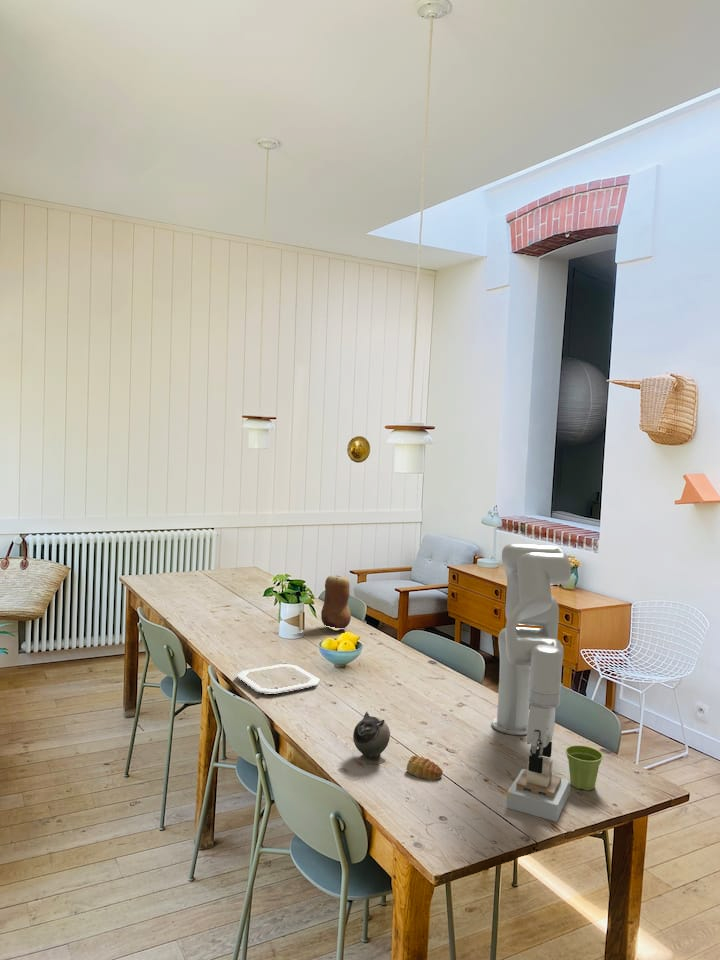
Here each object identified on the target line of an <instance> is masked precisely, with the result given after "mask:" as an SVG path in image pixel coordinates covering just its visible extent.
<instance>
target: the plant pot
mask: <svg viewBox="0 0 720 960" xmlns="http://www.w3.org/2000/svg"><path fill="white" fill-rule="evenodd" d="M564 751H565V754H566V757H567V760H568V768H569V769H568V770H569V783H570V785H571V786H572V787H573V788H576V789H582V790H583V791H591V790H594V789H595V787H596V783H597V777H598V773H599V767H600V765H601V762H602V760H603V759H604V754H603V752H601V751H600V750H599V749H596V748H594V747H591V746H586V745H579V744H576V745H575V744H574V745H569V746H567V747H566V748H565V750H564Z"/></svg>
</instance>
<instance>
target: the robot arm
mask: <svg viewBox="0 0 720 960" xmlns="http://www.w3.org/2000/svg"><path fill="white" fill-rule="evenodd" d="M501 562H502V566H503V568H504V572H505V575H506V593H505V594H506V597H505V610H504V611H505V618H506V623H505V627H504V628H502V629H501V630H500V631H499V634H498V637H497V639H498V651H499V680H498V695H497V696H498V697H497V698H498V699H497V712H496V713H497V714H496V715H497V716H496V717H493V719H492V720H491V726H492V727H493V729H495V730H496V731H498V732H501V733H503V734H508V735H511V736H523V735H526V737H525V738H526V740H525V743H526V745H530V749H529V755H528V761H529V768H528V770H529V771H532V772H536V773H539V774H541V773H542V766H543V757H545V758H551V757H552V748H553V747H552V746H553V741H552V740H553V736H554V733H555V724H556V723H555V722H556V708H558V707H559V706H560V703H561V688H562V687H561V686H562V685H561V684H562V672H563V671H562V670H563V669H562V668H563V660H564V653H565V652H564V649H565V648H564V646H563V644H562V643H561V641H560V640H559V639H558V632H559V631H558V630H559V619H560V617H559V616H560V608H559V603H558V600H557V599H556V598H555V597H554V596H552V590H551V588H552V587H551V584H552V585H553V584H554V585H565V584H567V583H569V581H570V579H571V576H572V568H571V567H572V566H571V561H570V559H569V556H568V555H567V554H566V553H565V552H564V550H563V549H562V548H561V547H559V546H556V545H546V544H545V545H542V544H529V543H528V544H527V543H524V544H523V543H511V544H506V545H504V547H502V552H501ZM518 625H519V626H518ZM520 625H521V626H520ZM525 626H526V627H525ZM528 626H530V627H528ZM531 626H534V627H531ZM535 626H536V627H535ZM538 627H541V628H538Z"/></svg>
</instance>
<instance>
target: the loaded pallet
mask: <svg viewBox="0 0 720 960" xmlns="http://www.w3.org/2000/svg"><path fill="white" fill-rule="evenodd" d="M542 757H543V766H542V773H541V774H539V773H536V772H532V771H529V770H528V768H529V760H528V761H527V768H524V769H525V770H524V772H523V774H522V775H521V777H520V778H519V780H518V782H517V783H516V789H519V790H523V791H524V789H525V788H527V789H531V793H534V794H539V792H542V793H546V797H549V798H554V796H555V794H556V792H557V790H558V788H559V786H560V784H561V779H562V777H561V776H556V775H553V761H554V760H553V758H550V757H545V756H542Z"/></svg>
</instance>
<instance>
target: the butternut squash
mask: <svg viewBox="0 0 720 960" xmlns="http://www.w3.org/2000/svg"><path fill="white" fill-rule="evenodd" d="M349 598H350V582H349V579H348V578H347V577H345V576H343V575H338V574H334V575H333V574H332V575H328V577H326V580H325V583H324V601H323V605H322V609H321V612H320V614H321V617H320V618H321V619H320V620H321V622H322V624H323V625H324V626H325V625H326V626H330V627H335V628H345V627H346V628H347V627H348V626H349V625H350V622H351V618H352V614H351V610H350V606H349V603H348V602H349ZM326 626H325V627H326ZM346 628H345V629H346Z"/></svg>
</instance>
